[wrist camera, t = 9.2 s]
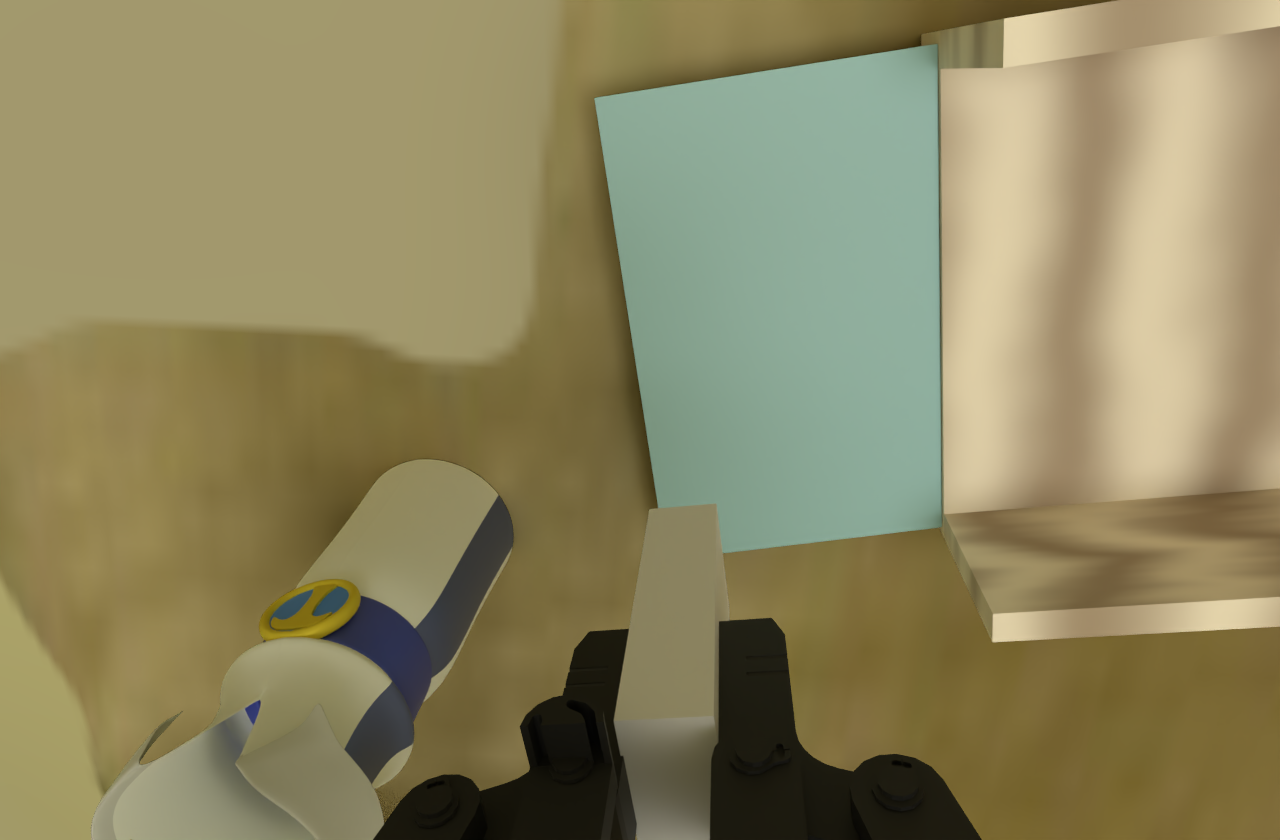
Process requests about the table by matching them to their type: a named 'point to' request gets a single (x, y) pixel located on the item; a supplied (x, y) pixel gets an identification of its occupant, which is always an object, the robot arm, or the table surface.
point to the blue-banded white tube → (331, 675)
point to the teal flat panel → (786, 293)
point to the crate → (1112, 316)
